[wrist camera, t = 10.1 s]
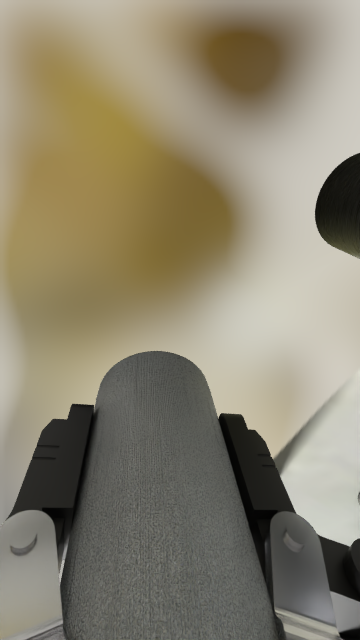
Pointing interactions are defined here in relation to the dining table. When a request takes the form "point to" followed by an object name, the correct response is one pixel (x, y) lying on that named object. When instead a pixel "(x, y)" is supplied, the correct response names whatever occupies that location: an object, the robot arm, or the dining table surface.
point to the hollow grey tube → (160, 517)
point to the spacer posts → (341, 209)
